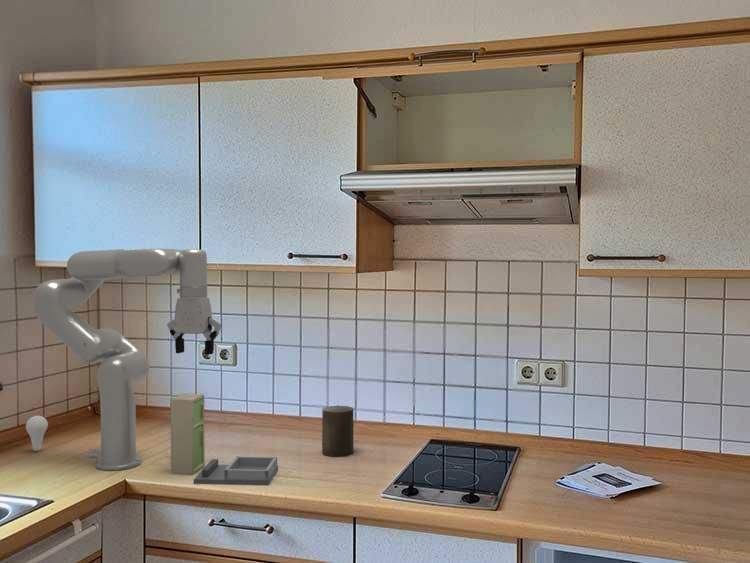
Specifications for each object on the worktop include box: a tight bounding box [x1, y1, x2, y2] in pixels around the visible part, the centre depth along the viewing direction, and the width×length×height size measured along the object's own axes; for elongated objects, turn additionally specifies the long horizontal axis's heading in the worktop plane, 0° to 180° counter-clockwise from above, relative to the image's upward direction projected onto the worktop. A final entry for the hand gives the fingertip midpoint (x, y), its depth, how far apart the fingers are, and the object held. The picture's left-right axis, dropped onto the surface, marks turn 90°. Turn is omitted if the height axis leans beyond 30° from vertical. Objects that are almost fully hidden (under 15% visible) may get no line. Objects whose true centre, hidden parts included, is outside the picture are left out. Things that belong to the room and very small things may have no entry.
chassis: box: [193, 455, 279, 486], centre depth 190 cm, size 20×13×4 cm, turn 87°
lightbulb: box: [25, 415, 49, 452], centre depth 215 cm, size 6×6×11 cm
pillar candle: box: [321, 404, 355, 458], centre depth 214 cm, size 10×10×15 cm
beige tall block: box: [170, 392, 206, 475], centre depth 196 cm, size 8×7×21 cm
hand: (194, 353), depth 197 cm, fingers open, 9 cm apart
